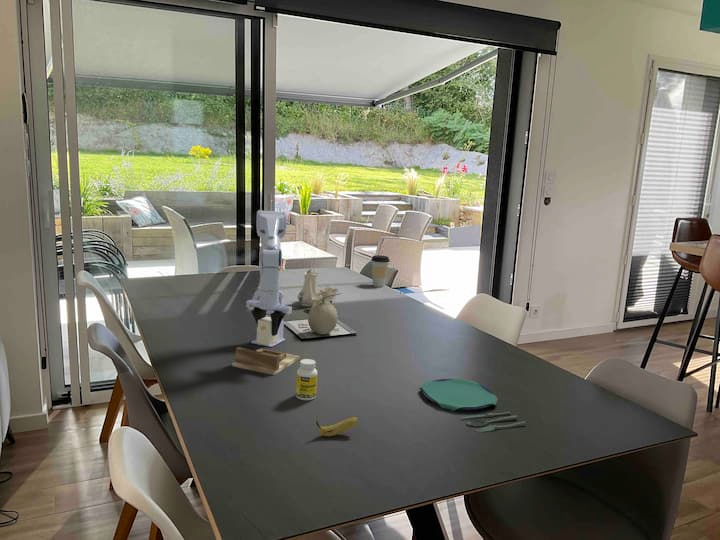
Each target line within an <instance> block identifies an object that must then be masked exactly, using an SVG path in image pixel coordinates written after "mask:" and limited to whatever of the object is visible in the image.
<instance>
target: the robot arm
mask: <svg viewBox="0 0 720 540" xmlns="http://www.w3.org/2000/svg"><path fill="white" fill-rule="evenodd" d="M287 220H288V213H287V212H286V211H285V210H283V211H279V210H278V211H273V210H261V209H258V210H257V211H256V221H255V222H256V226H255V227H256V233H257V236H258V237H260V238H261V246H260V250H259V254H258V255H259V256H258V257H259V258H258V259H259V260H258V261H259V262H258V266H259V275H260V277H259V289H257V290H256V291H255V293H254V297H253V299H248V300H246V302H245V303H246V308H252V309H253V310H251V314H252V316H253V318H254V320H255V323H256V339H254V340H251V341H250V342H251V344H255V345H259V346H265V347H269V348H272V347H274V346H276V345H279V344H280V343H282V342H284V341H286V338H284V317H285V315H290V314H293V313H292V312H293V307H292V306H289V305H285V301H284V293H283V292H282V291H281V290H280V279H281V278H280V277H281V269H282V266H283V251H282V248H281V242H282V241H281V239H283V238H284V237H285V235H286V232H287V223H288V221H287ZM279 267H280V268H279ZM264 317H271V321H272V336H275V335H277V333H278V340H277V341H276V342H274V343H272V344H270V345H266V344H261V343H257V337H258V320H260V319H262V318H264Z"/></svg>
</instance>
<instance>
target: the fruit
mask: <svg viewBox="0 0 720 540" xmlns="http://www.w3.org/2000/svg"><path fill="white" fill-rule="evenodd" d="M335 295H336V296H338V295H342V293H341V292H340V293H336V294H334V295H329V296H326V297H323V298H321V299H320V301H321V300H322V302H320V301H319V302H318V303H317V304H315V305H314V306H313V307H310V309H309V312H308V315H307V322H308V326H309V329H310V330H311V331H312V332H313V333H315V334H318V335H321V334H322V335H323V334H324V335H328V334H330V333H332V332H333V331H334V329H336V327H337V323H338V317H339V316H338V312H337V309H336V308H335V306H334V305H332V304H331V302H330V303H327V302H324V300H325V298H328V297H331V296H335ZM336 296H335V297H336ZM322 335H321V336H322Z"/></svg>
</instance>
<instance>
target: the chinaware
mask: <svg viewBox="0 0 720 540" xmlns="http://www.w3.org/2000/svg"><path fill="white" fill-rule="evenodd" d="M318 276H319V273H318V272H316V271H315V270H313V267H310V268H309V270H307V271H306V272H303V278H304V280H303V285H302V287H301V290H300V291H299V293H298V294H297V297H296V298H297V300H298V302H299V305H300V306H303V307H307V308H309V307H310V308H312V307H313V306H314V305H315V304H317V303H318V302H319V301H320V299H321V298H323V297H326V296H329V295H334V294H338V291H339V290H338V288H335V287H334V288H332V287H329V286H327V287H318V285H319V284H318V278H319V277H318ZM336 296H337V295H335V296H331V297H328V298H325V300H324V302H327V303H330V304H331V302H332V301H333V300H334V299H335V298H336ZM330 301H331V302H330ZM320 302H322V300H321V301H320Z"/></svg>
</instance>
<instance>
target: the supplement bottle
mask: <svg viewBox="0 0 720 540" xmlns="http://www.w3.org/2000/svg"><path fill="white" fill-rule="evenodd" d="M299 366H300V367H299V368H297V371H296V384H295V385H296V387H295V397H296V398H297V399H298V400H301V401H312V400H314V399H316V397H317V390H318V389H317V387H318V370H317V369H316V360H314V359H311V358H303V359H301V360H300V361H299Z"/></svg>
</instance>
